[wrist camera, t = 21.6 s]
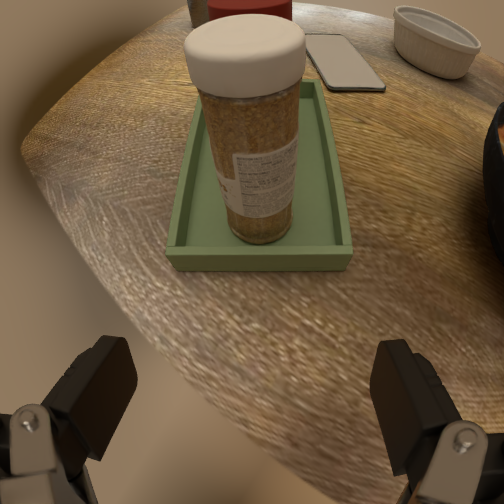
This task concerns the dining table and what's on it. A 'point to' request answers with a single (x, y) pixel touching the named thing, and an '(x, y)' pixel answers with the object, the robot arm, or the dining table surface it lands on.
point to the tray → (303, 205)
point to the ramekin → (434, 42)
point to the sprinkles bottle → (251, 115)
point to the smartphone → (341, 63)
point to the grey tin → (198, 12)
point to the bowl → (495, 180)
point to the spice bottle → (249, 8)
